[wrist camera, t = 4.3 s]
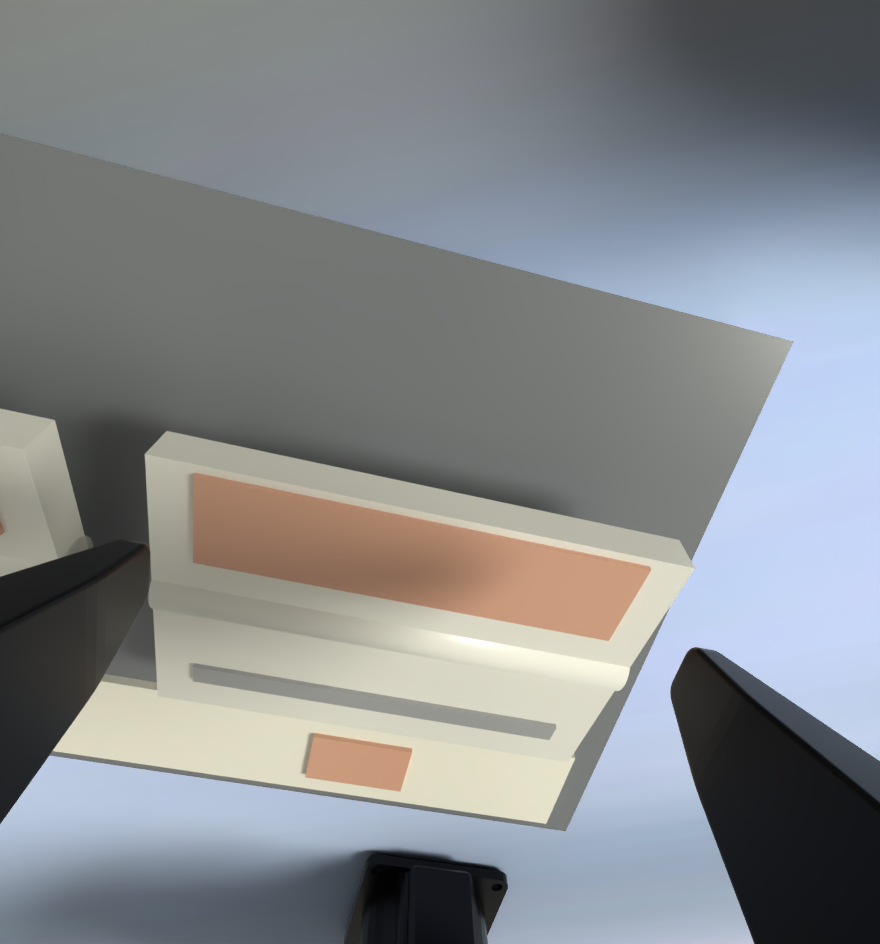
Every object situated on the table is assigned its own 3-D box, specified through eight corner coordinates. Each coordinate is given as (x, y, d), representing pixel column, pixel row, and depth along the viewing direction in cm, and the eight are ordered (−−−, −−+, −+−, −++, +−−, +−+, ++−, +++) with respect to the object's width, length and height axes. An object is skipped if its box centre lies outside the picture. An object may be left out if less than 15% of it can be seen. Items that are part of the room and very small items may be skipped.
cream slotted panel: (561, 725, 17) (569, 768, 16) (175, 660, 16) (154, 702, 15) (676, 534, 13) (698, 574, 12) (170, 426, 12) (139, 458, 11)
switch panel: (548, 760, 23) (568, 843, 19) (-254, 631, 19) (-388, 705, 16) (730, 327, 16) (805, 344, 13) (-408, 29, 13) (-678, -45, 10)
